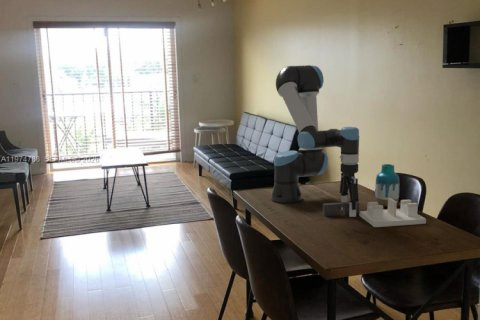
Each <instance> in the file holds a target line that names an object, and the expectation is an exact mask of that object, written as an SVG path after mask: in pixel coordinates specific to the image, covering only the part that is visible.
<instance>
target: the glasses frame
mask: <svg viewBox="0 0 480 320" xmlns="http://www.w3.org/2000/svg"><path fill="white" fill-rule="evenodd" d="M341 207H343V210H342V214H343V215H344V216H345V215H346V216H347V215H348V216H349V211H350V203H349V201H348V202H329V203H328V202H327V203H322V216H324V217H331V216H332V217H334V216H339V215H340V213H339V211H340V209H339V208H341ZM359 209H360V202H356V215H359V211H360V210H359Z"/></svg>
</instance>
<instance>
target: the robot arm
mask: <svg viewBox="0 0 480 320" xmlns="http://www.w3.org/2000/svg"><path fill="white" fill-rule="evenodd" d="M275 78H276V79H275V88H276V89H275V90H276V91H277V93H278V94H277V95H278V96H279V97H281V98H282V100H283V101H284V104H285V106H286V107H287V109H288V112H289V114H290V116H291V118H292V120H293V122H294V124H295V127H296V129H297V132H298V135H297V144H298V147H299V149H298V151H297V150H285V151H284V150H283V151H280V152H278V153H276V154H275V156H274V160H273V161H274V162H273V165H274V166H273V168H274V169H273V170H274V171H273V172H274V173H273V174H274V176H273V177H274V185H273V187H272V190H271V193H270V199H271V201H273V202H274V203H282V204H283V203H284V204H291V203H293V204H294V203H298V202H300V201H302V200H303V194H302V191H301V189H300V185H299V178H301V177H311V176H314V177H315V176H318V175H319V176H320V175H322V174H324V173H325V172H326V171H327V169H328V165H329V163H328V162H329V158H328V155H327V153H326V152H325V151H323V148H324V149H325V148H334V147H337V148H340V156H339V159H340V172H341V173H340V185H339V194H340V195H341V202H349V203H350V211H349V215H348V216H349V218H353V217H354V218H355V217H357V214H356V202H358V203H360V199H359V178H356V176H355V174H357V173H358V172H359V164H358V163H359V161H360V160H359V156H360V153H359V152H360V130H359V128H358V127H356V126H343V127H342V128H341V129H338V128H329V129H326V130H319V120H318V119H319V117H318V103H317V100H318V99H317V96H318V95H319V93H320V89H322V88H323V86H324V75H323V72H322V70H321V69H320V67H318V66H317V65H310V64H308V65H289V66H288V65H287V66H284V67H283V68H282V69H281V70H280V71H279V72H278V74H277V76H276V77H275ZM348 192H349V193H348ZM349 199H350V200H349ZM340 208H341V211H343V207H340Z"/></svg>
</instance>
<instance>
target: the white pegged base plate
mask: <svg viewBox="0 0 480 320" xmlns="http://www.w3.org/2000/svg"><path fill="white" fill-rule="evenodd" d="M397 203H398V202H396V201H394V200H393V199H391V198H388V206H387V209H384V206H382V205H379V204H378V202H377V201H367V203H366V210H361V211H360V210H359V214H358V215H359V217H360V218H362V219H363V220H364V221H365V222H367V223H369V224H370V225H371V226H372V227H373V228H382V227H394V226H395V227H397V226H410V225H411V226H412V225H423V224H427V219H426V218H425V217H424V216H422V215H420V214H418V203H417V202H412V200H411V199H401V200H400V208H397Z"/></svg>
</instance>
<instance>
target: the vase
mask: <svg viewBox="0 0 480 320" xmlns="http://www.w3.org/2000/svg"><path fill="white" fill-rule="evenodd" d="M374 185H375V186H374V187H375V188H374V192H375V193H374V194H375V195H374V196H375V202H378V205H382V206H383V207H388V198H391V199H393V200H394V201H396V202H397V203H398V202H399V199H400V198H399V197H400V175H399V174H398V173H396V172H395V165H394V164H391V163H383V164H381V171H380V172H378V173H377V174H376V176H375V184H374Z"/></svg>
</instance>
